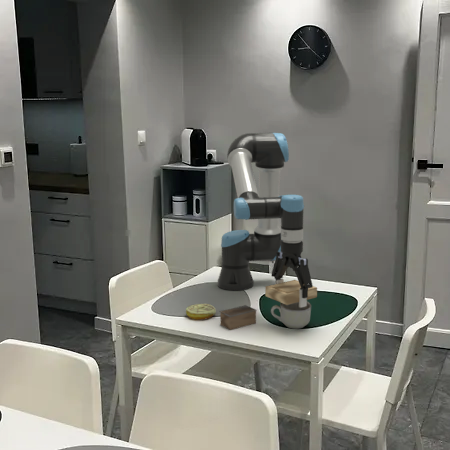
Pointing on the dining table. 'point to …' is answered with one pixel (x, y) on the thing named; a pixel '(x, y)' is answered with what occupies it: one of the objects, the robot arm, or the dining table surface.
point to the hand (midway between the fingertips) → (291, 301)
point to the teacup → (293, 314)
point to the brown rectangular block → (238, 317)
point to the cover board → (288, 292)
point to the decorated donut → (200, 311)
